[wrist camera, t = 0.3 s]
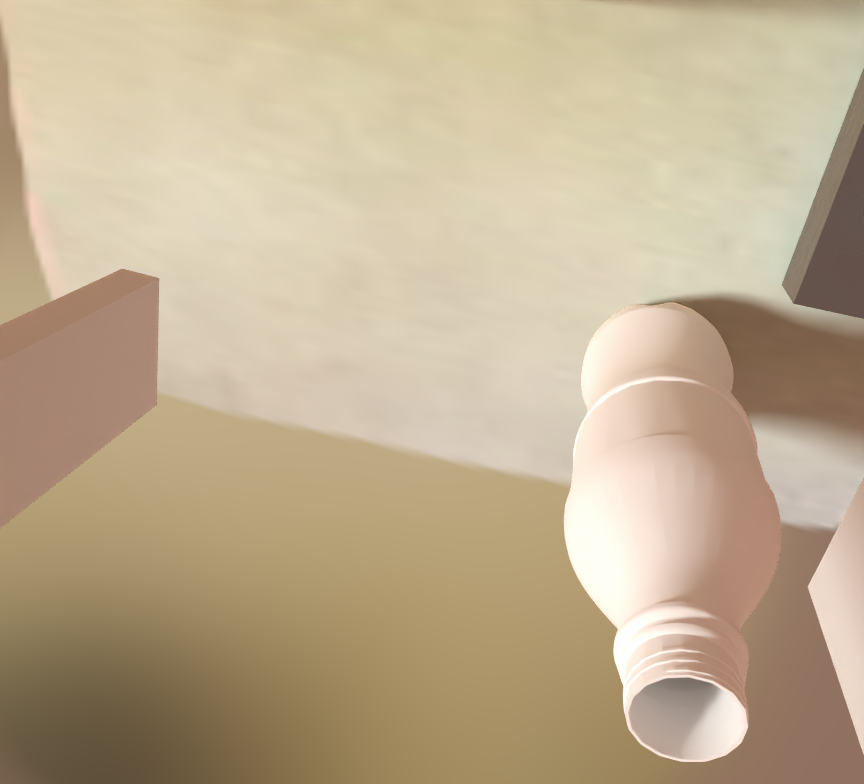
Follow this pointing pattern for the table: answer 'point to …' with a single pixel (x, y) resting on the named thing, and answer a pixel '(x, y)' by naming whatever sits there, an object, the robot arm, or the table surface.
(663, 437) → the water bottle
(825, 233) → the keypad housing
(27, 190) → the table surface
